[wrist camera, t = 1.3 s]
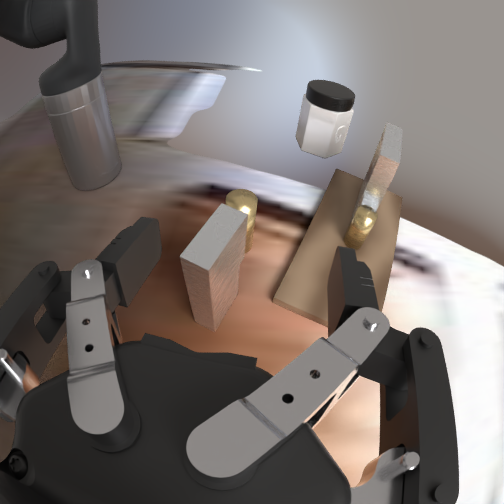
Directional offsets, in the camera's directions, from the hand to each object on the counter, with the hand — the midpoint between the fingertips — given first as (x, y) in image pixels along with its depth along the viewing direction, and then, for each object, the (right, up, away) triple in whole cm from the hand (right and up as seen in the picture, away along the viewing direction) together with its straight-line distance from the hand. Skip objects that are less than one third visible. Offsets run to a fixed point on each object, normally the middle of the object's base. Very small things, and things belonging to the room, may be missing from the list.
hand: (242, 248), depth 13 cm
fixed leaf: (+16, +5, +27) cm, 32 cm away
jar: (+13, +20, +39) cm, 45 cm away
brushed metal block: (-3, -5, +19) cm, 20 cm away
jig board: (+14, +1, +25) cm, 29 cm away
